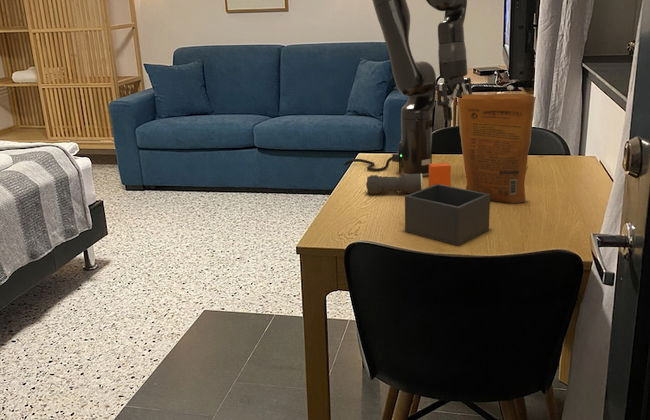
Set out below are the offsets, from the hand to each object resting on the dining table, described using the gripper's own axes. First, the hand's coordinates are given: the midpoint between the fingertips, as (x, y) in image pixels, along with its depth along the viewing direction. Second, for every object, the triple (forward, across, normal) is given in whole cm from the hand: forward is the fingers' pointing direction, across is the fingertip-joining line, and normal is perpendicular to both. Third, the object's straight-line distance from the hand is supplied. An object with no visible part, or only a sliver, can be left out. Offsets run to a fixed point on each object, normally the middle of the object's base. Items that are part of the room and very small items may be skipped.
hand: (456, 118), depth 186 cm
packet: (+19, +22, +7) cm, 30 cm away
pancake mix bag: (+20, +9, +15) cm, 27 cm away
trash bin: (+21, +36, +18) cm, 46 cm away
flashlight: (+18, +19, -9) cm, 28 cm away
